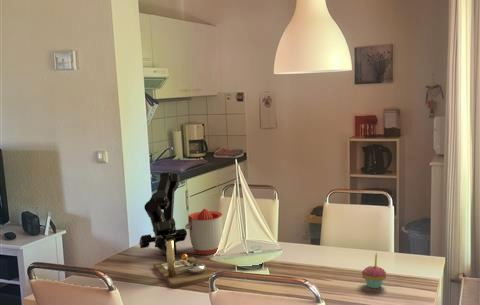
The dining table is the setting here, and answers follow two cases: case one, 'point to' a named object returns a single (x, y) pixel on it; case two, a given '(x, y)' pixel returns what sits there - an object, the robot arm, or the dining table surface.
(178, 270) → the capstan cam
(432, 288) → the dining table surface
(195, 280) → the level stand
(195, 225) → the citrus juicer
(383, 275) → the cupcake
